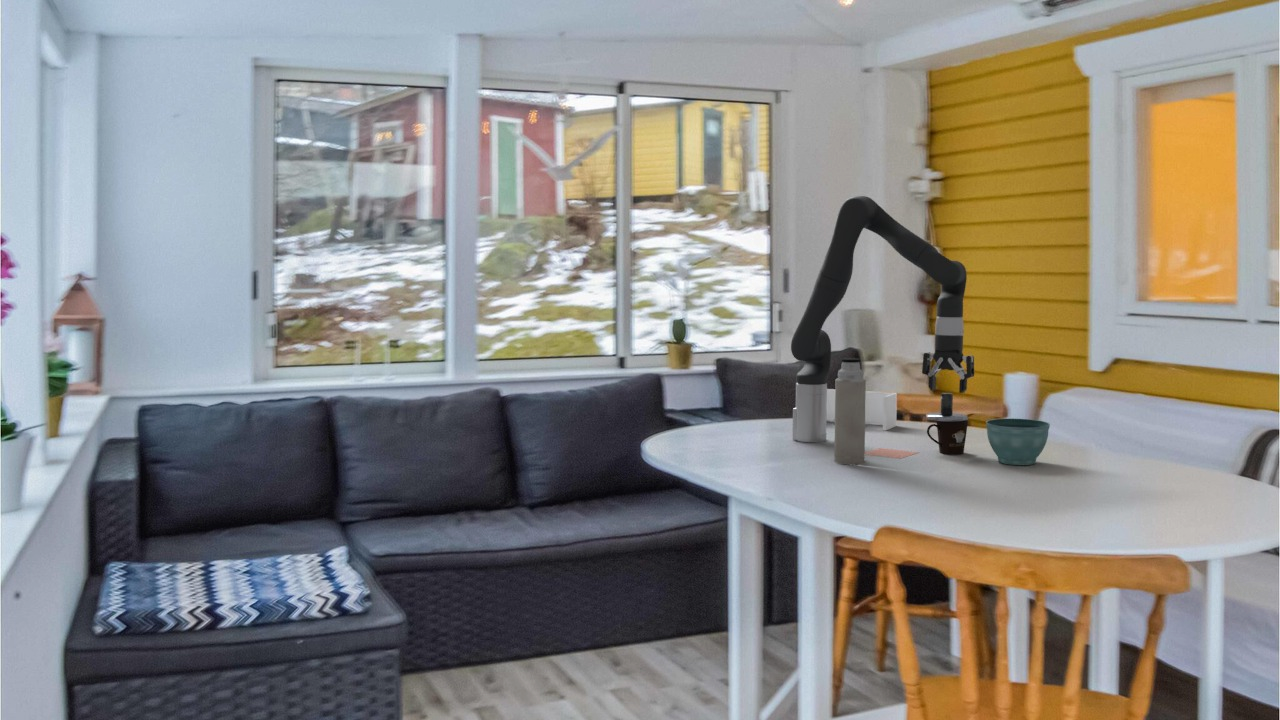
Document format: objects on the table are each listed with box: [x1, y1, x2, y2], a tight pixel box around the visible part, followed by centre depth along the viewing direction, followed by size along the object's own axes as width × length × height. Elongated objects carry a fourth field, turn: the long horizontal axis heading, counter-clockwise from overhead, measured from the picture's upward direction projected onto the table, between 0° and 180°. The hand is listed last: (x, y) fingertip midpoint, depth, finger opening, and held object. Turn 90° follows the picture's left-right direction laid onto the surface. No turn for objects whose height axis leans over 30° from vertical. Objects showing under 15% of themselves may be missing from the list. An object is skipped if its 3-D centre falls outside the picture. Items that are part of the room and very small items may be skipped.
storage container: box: [827, 388, 898, 431], centre depth 375 cm, size 25×11×11 cm, turn 61°
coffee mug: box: [926, 418, 969, 456], centre depth 320 cm, size 12×9×10 cm
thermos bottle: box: [833, 357, 867, 465], centre depth 308 cm, size 8×8×28 cm
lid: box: [925, 392, 968, 422], centre depth 319 cm, size 11×11×7 cm
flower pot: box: [985, 418, 1051, 466], centre depth 307 cm, size 16×16×11 cm
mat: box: [865, 447, 920, 460], centre depth 320 cm, size 12×12×1 cm
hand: (947, 391), depth 319 cm, fingers open, 8 cm apart
